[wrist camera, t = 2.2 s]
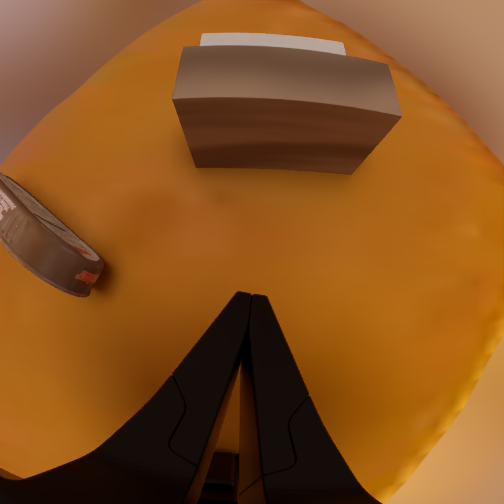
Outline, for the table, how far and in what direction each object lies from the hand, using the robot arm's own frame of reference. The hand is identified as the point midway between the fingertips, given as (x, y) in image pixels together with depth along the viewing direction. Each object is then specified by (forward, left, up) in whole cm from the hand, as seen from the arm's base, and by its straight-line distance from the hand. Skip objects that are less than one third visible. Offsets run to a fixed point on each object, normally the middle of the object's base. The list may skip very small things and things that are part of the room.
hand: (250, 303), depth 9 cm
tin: (+5, +16, -13) cm, 21 cm away
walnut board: (+12, -2, -13) cm, 17 cm away
